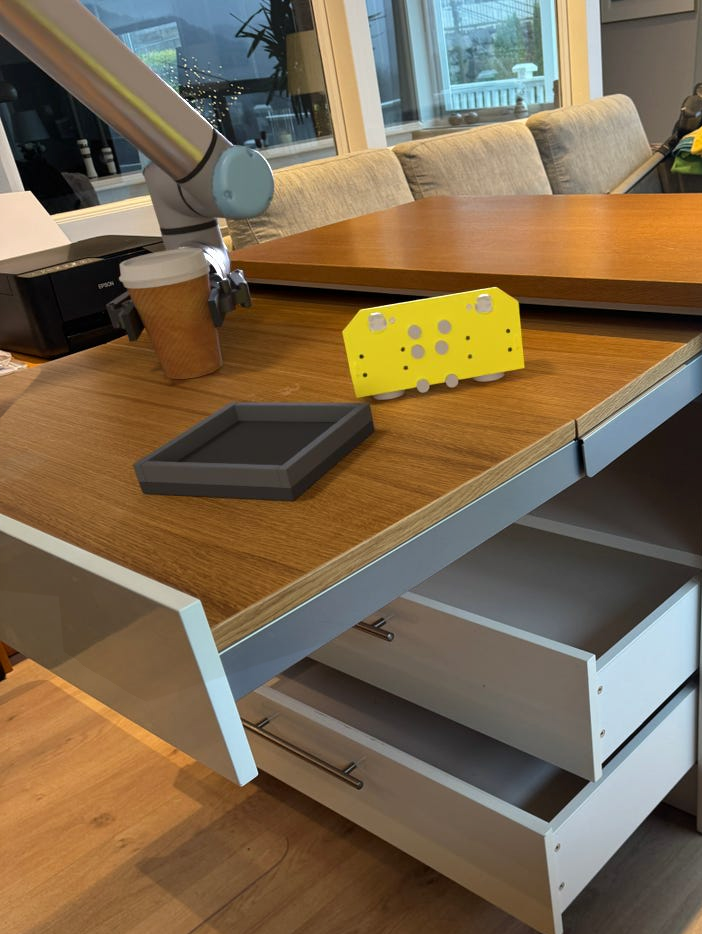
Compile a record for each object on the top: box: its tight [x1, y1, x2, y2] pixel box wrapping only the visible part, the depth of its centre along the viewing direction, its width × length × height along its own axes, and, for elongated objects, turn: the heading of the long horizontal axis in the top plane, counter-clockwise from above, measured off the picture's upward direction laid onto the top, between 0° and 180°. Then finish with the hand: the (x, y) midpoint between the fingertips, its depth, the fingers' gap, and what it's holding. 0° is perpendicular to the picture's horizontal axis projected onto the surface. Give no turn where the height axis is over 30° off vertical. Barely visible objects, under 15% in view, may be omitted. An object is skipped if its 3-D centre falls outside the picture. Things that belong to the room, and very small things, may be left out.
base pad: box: [132, 401, 376, 502], centre depth 73 cm, size 14×14×2 cm
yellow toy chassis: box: [341, 286, 525, 401], centre depth 83 cm, size 16×6×8 cm, turn 101°
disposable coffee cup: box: [118, 248, 223, 380], centre depth 97 cm, size 10×10×12 cm
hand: (172, 320), depth 93 cm, fingers closed on disposable coffee cup, 8 cm apart
